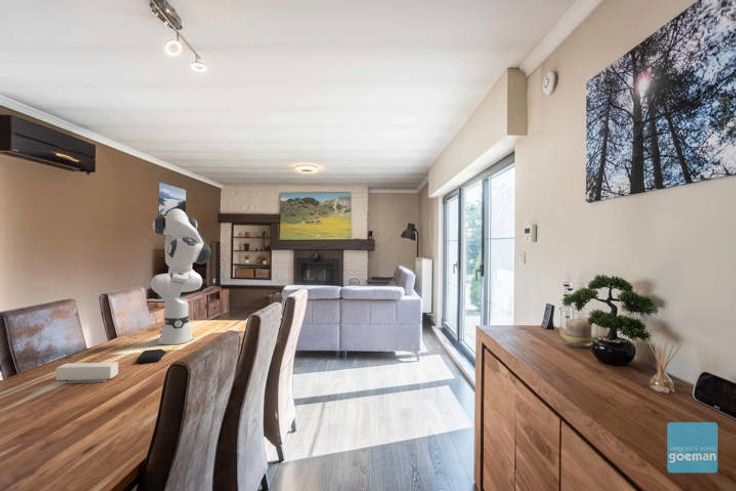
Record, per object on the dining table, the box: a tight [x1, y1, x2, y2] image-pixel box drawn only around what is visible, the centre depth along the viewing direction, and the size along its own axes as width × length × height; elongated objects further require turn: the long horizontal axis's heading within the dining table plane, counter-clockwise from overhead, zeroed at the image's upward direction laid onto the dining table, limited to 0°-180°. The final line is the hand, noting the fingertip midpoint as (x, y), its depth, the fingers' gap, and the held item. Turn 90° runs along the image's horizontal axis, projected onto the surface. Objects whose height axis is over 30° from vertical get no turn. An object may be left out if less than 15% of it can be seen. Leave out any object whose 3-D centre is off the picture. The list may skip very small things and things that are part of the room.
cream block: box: [55, 361, 119, 381], centre depth 138 cm, size 5×5×20 cm
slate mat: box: [65, 371, 120, 384], centre depth 138 cm, size 14×10×1 cm
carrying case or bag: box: [136, 348, 167, 365], centre depth 163 cm, size 11×3×15 cm
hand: (170, 299), depth 156 cm, fingers closed
